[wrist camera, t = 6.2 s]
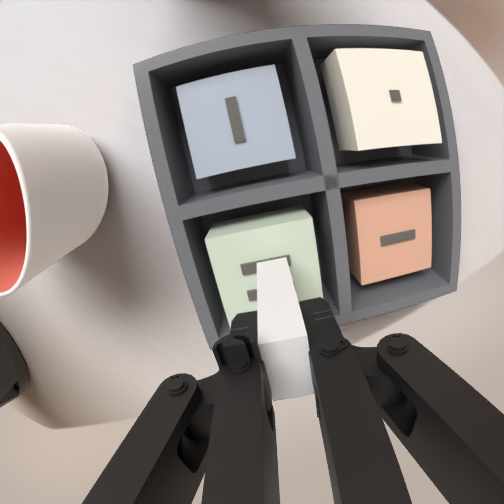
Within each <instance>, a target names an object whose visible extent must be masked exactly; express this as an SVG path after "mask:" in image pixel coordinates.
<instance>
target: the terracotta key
mask: <svg viewBox="0 0 504 504" xmlns="http://www.w3.org/2000/svg"><path fill="white" fill-rule="evenodd" d="M340 193H341V200H342V207H343V215H344V223H345V232H346V241H347V251H348V262H349V270H350V271H351V272H352V273H353V275H354V276H355V277H356V279H357V280H358V281H359V283H360V284H361V285H366V284H370V283H374V282H378V281H382V280H386V279H389V278H393V277H397V276H401V275H405V274H408V273H412V272H416V271H419V270H423V269H426V268H430V267H431V258H432V215H431V194H430V188H427V187H424V186H420V185H417V184H413V183H409V182H400V183H393V184H386V185H380V186H374V187H367V188H361V189H355V190H349V191H343V192H340Z"/></svg>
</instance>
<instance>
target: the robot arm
mask: <svg viewBox="0 0 504 504" xmlns="http://www.w3.org/2000/svg"><path fill="white" fill-rule="evenodd" d="M212 350H213V353H214V356H215V358H216V361H217V363H218V366H219V372H217V373H216V374H214V375H212V376H209V377H207V378H204V379H201V380H198V381H196V379H195V378H194V377H193V376H192V375H189V374H185V373H184V374H176V375H173V376H170V377H169V378H167V379H165V380H164V381H163V382H162V383H161V384H160V386H159V387H158V389H157V390H156V392H155V393H154V395H153V396H152V398H151V399H150V401H149V402H148V404H147V405H146V407H145V408H144V410H143V411H142V413H141V414H140V416H139V417H138V419H137V420H136V422H135V423H134V425H133V426H132V428H131V430H130V431H129V433H128V434H127V436H126V437H125V439H124V440H123V442H122V443H121V445H120V446H119V448H118V449H117V451H116V452H115V454H114V455H113V457H112V458H111V460H110V461H109V463H108V464H107V466H106V468H105V469H104V471H103V472H102V474H101V475H100V477H99V478H98V480H97V481H96V483H95V484H94V486H93V487H92V489H91V490H90V492H89V493H88V495H87V497H86V498H85V500H84V501H83V503H82V504H191V503H192V501H193V499H194V496H195V494H196V492H197V490H198V487H199V485H200V483H201V480H202V478H203V476H204V473H205V479H204V486H203V495H202V503H201V504H280V494H279V478H278V461H277V444H276V429H275V413H274V409H273V406H272V399H273V401H276V400H282V399H288V398H295V397H300V396H305V395H310V394H315V399H316V408H317V417H319V421H320V427H321V432H322V437H323V442H324V448H325V452H326V458H327V464H328V469H329V475H330V481H331V486H332V492H333V498H334V504H412V502H411V499H410V496H409V493H408V490H407V487H406V484H405V481H404V478H403V475H402V472H401V469H400V466H399V463H398V460H397V458H396V455H395V452H394V449H393V446H392V444H391V441H390V438H389V436H388V433H387V430H386V428H385V425H384V422H383V420H384V421H385V422H386V424H387V425H388V426H389V427H390V429H391V430H392V431H393V432H394V434H395V435H396V436H397V438H398V439H399V440H400V441H401V443H402V444H403V445H404V446H405V448H406V449H407V450H408V452H409V453H410V454H411V455H412V457H413V458H414V459H415V460H416V462H417V463H418V464H419V465H420V467H421V468H422V469H423V471H424V472H425V473H426V474H427V476H428V477H429V478H430V480H431V481H432V482H433V483H434V485H435V486H436V487H437V488H438V490H439V491H440V492H441V494H442V495H443V496H444V497H445V499H446V500H447V501H448V502H449V504H504V414H503V413H501V412H500V411H499V410H498V409H497V408H496V407H495V406H494V405H492V404H491V403H490V402H489V401H488V400H487V399H486V398H485V397H483V396H482V395H481V394H480V393H479V392H477V391H476V390H475V389H474V388H473V387H472V386H471V385H470V384H468V383H467V382H466V381H465V380H464V379H463V378H461V377H460V376H459V375H458V374H457V373H455V372H454V371H453V370H452V369H451V368H450V367H448V366H447V365H446V364H445V363H443V362H442V361H441V360H440V359H439V358H438V357H436V356H435V355H434V354H433V353H432V352H430V351H429V350H428V349H427V348H425V347H424V346H423V345H422V344H421V343H419V342H418V341H417V340H416V339H414V338H413V337H411V336H409V335H407V334H402V333H397V334H390V335H387V336H385V337H384V338H382V339H381V340H380V341H379V343H378V344H377V347H357V346H353V345H351V343H350V342H349V341H348V340H347V339H345V338H343V335H342V333H341V331H340V328H339V326H338V324H337V321H336V319H335V317H334V315H333V312H332V310H331V308H330V305H329V303H328V302H327V301H326V300H324V299H323V298H321V297H318V298H313V299H308V300H303V301H298V298H297V295H296V291H295V287H294V284H293V280H292V276H291V273H290V269H289V266H288V262H287V259H286V257H284V258H279V259H274V260H269V261H264V262H259V263H257V310H256V311H250V312H244V313H238V314H237V315H236V316H235V317H234V318H233V320H232V321H231V330H230V334H229V335H226V336H224V337H222V338H220V339H219V340H218V341H217V342H216V343H214V346H213V348H212ZM28 384H29V373H28V369H27V366H26V364H25V361H24V359H23V357H22V355H21V353H20V351H19V350H18V348H17V346H16V344H15V343H14V341H13V340H12V338H11V337H10V335H9V334H8V332H7V331H6V330H5V328H4V327H3V326H2V325H1V323H0V407H2V406H3V405H5V404H6V403H8V402H10V401H12V400H13V399H15V398H17V397H19V396H20V395H21V394H22V393H23V391H24V390H25V388H26V387H27V386H28ZM382 418H383V420H382Z"/></svg>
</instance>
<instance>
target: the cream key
mask: <svg viewBox="0 0 504 504" xmlns="http://www.w3.org/2000/svg"><path fill="white" fill-rule="evenodd" d="M320 67H321V71H322V74H323V78H324V82H325V86H326V91H327V95H328V99H329V103H330V108H331V112H332V117H333V122H334V127H335V132H336V137H337V142H338V147H339V150H353V151H360V150H368V149H377V148H386V147H396V146H407V145H419V144H433V143H442V138H441V131H440V125H439V119H438V113H437V108H436V103H435V98H434V94H433V89H432V85H431V81H430V77H429V73H428V69H427V66H426V62H425V59H424V55H423V52H421V51H411V50H398V49H378V48H342V49H334V50H333V52H332V53H331V54H330V55H329V56H328V57H327V58H326V59H325V61H324V62H323V63H322V64H321V65H320Z"/></svg>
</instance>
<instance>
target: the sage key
mask: <svg viewBox="0 0 504 504" xmlns="http://www.w3.org/2000/svg"><path fill="white" fill-rule="evenodd" d="M205 243H206V247H207V251H208V254H209V258H210V261H211V265H212V268H213V272H214V275H215V279H216V282H217V286H218V289H219V293H220V296H221V300H222V303H223V306H224V310H225V313H226V316H227V320H228V323H229V326H230V329H231V321H232V320H233V318H234V317H235V316H236V315H237V314H238V313H244V312H250V311H256V310H257V263H259V262H264V261H269V260H274V259H279V258H284V257H286V259H287V262H288V266H289V269H290V273H291V276H292V280H293V284H294V287H295V291H296V295H297V298H298V301H303V300H308V299H313V298H318V297H321V298H323V292H322V284H321V276H320V268H319V261H318V253H317V246H316V239H315V233H314V226H313V220H312V217H311V216H310V215H309V213H308V212H307V211H306V210H305V209H304V208H303V207H302V206H301V205H300V206H294V207H289V208H284V209H279V210H274V211H269V212H264V213H259V214H255V215H250V216H245V217H240V218H236V219H231V220H226V221H222V222H217V223H213V224H212V226H211V228H210V230H209V232H208V234H207V236H206V238H205Z"/></svg>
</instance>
